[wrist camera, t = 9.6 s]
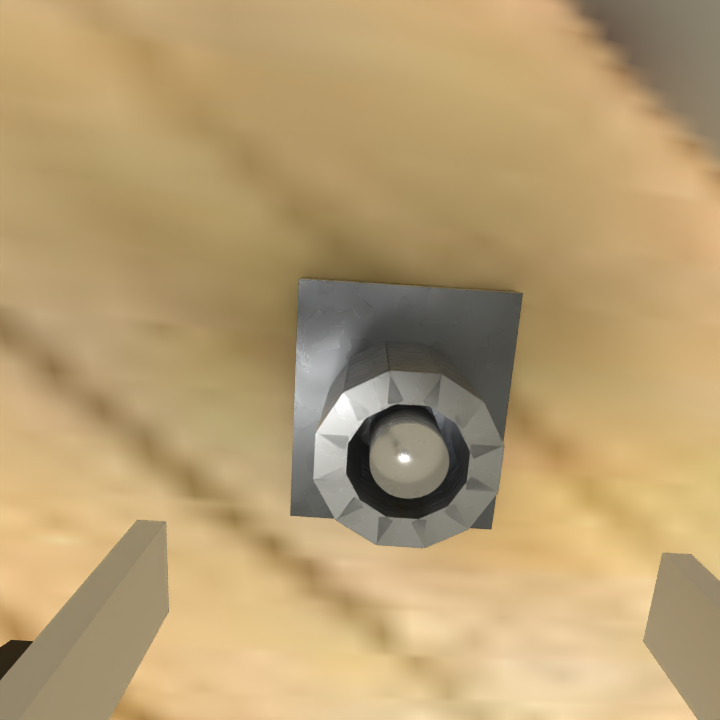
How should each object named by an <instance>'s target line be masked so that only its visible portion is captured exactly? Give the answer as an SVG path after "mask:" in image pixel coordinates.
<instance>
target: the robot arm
mask: <svg viewBox="0 0 720 720" xmlns="http://www.w3.org/2000/svg"><path fill="white" fill-rule="evenodd" d="M168 612H169V597H168V565H167V533H166V522H164V521H148V520H137V521H136V522H135V523H134V524H133V525H132V527H131V528H130V529H129V530H128V531H127V532H126V534H125V535H124V536H123V537H122V538H121V540H120V541H119V542H118V543H117V544H116V545H115V547H114V548H113V549H112V550H111V551H110V552H109V554H108V555H107V556H106V557H105V558H104V559H103V561H102V562H101V563H100V564H99V565H98V566H97V568H96V569H95V570H94V571H93V572H92V573H91V575H90V576H89V577H88V578H87V579H86V581H85V582H84V583H83V584H82V585H81V586H80V588H79V589H78V590H77V591H76V592H75V593H74V595H73V596H72V597H71V598H70V599H69V600H68V602H67V603H66V604H65V605H64V606H63V607H62V609H61V610H60V611H59V612H58V613H57V614H56V616H55V617H54V618H53V619H52V620H51V622H50V623H49V624H48V625H47V626H46V627H45V629H44V630H43V631H42V632H41V633H40V634H39V636H38V637H37V638H36V639H35V640H34V641H20V640H10V641H9V642H7V643H6V644H5V645H3V646H2V647H0V720H109V719H110V717H111V716H112V714H113V712H114V710H115V708H116V707H117V705H118V703H119V701H120V699H121V697H122V696H123V694H124V692H125V690H126V688H127V687H128V685H129V683H130V681H131V679H132V677H133V676H134V674H135V672H136V670H137V668H138V667H139V665H140V663H141V661H142V659H143V658H144V656H145V654H146V652H147V650H148V648H149V647H150V645H151V643H152V641H153V639H154V638H155V636H156V634H157V632H158V630H159V628H160V627H161V625H162V623H163V621H164V619H165V618H166V616H167V614H168ZM643 642H644V643H645V645H646V646H647V648H648V649H649V650H650V652H651V653H652V655H653V656H654V658H655V659H656V661H657V662H658V663H659V665H660V666H661V668H662V669H663V671H664V672H665V673H666V675H667V676H668V678H669V679H670V681H671V682H672V683H673V685H674V686H675V688H676V689H677V691H678V692H679V693H680V695H681V696H682V698H683V699H684V701H685V702H686V704H687V705H688V706H689V708H690V709H691V711H692V712H693V714H694V715H695V716H696V718H697V719H698V720H720V581H719V580H718V579H717V578H716V577H715V576H714V575H713V574H712V573H711V572H710V571H708V570H707V569H706V568H705V567H704V566H703V565H702V564H701V563H700V562H699V561H698V560H697V559H696V558H695V557H694V556H693V555H692V554H676V553H662V557H661V562H660V566H659V571H658V575H657V580H656V584H655V589H654V594H653V598H652V603H651V607H650V612H649V617H648V621H647V626H646V630H645V635H644V640H643Z"/></svg>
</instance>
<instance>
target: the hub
mask: <svg viewBox="0 0 720 720" xmlns="http://www.w3.org/2000/svg"><path fill="white" fill-rule="evenodd" d="M395 404H406V405H420V406H430V407H432V408H433V409H435V410H436V411H438V412H439V413H441V414H442V415H444V416H445V417H444V426H443V428H442V429H441V430H440V432H441V435H442V437H443V440H444V443H445V445H446V448H447V451H448V455H449V467H448V472H447V474H446V477H445V479H444V480H443V482H442V483H441V484H440V485H439V486H438V487H437V488H436V489H435V490H434V491H432V492H431V493H429V494H427V495H425V496H422V497H418V498H412V499H406V498H399V497H396V496H393V495H391V494H389V493H387V492H386V491H384V490H383V489H382V488H381V487H380V486H379V485H378V484H377V483H376V481H375V480H374V478H373V476H372V474H371V470H370V445H369V444H368V443H366V442H364V441H363V439H362V438H361V436H360V434H359V432H358V429H359V427H360V426H361V424H362V423H363V421H364V420H365V419H366V418H367V417H369V416H371V415H373V414H375V413H377V412H380V411H382V410H384V409H386V408H388V407H390V406H393V405H395ZM503 452H504V444H503V442H502V440H501V438H500V435H499V433H498V431H497V429H496V427H495V425H494V422H493V420H492V418H491V416H490V414H489V412H488V410H487V407H486V405H485V403H484V402H483V400H482V399H481V398H480V396H479V395H478V393H477V392H476V391H475V389H474V388H473V387H472V385H471V384H470V383H469V381H468V380H467V379H466V377H465V376H464V375H463V373H462V372H461V371H460V369H459V368H458V367H457V365H456V364H455V363H453V362H452V361H450V360H449V359H447V358H446V357H444V356H443V355H441V354H440V353H438V352H437V351H435V350H434V349H432V348H431V347H429V346H428V345H426V344H425V343H413V342H398V341H386V342H385V341H383V342H381V343H379V344H377V345H375V346H373V347H371V348H369V349H367V350H365V351H363V352H361V353H358V354H356V355H354V356H352V357H351V358H350V359H349V360H348V362H347V363H346V365H345V366H344V367H343V369H342V370H341V372H340V373H339V375H338V376H337V378H336V379H335V381H334V382H333V384H332V385H331V387H330V388H329V391H328V395H327V398H326V401H325V404H324V407H323V411H322V414H321V417H320V420H319V424H318V427H317V430H316V433H315V453H314V475H313V479H314V482H315V484H316V486H317V487H318V489H319V491H320V493H321V495H322V496H323V498H324V500H325V502H326V504H327V505H328V507H329V509H330V511H331V513H332V514H333V516H334V518H335V520H336V521H338V522H339V523H341V524H343V525H344V526H346V527H348V528H349V529H351V530H352V531H354V532H356V533H357V534H359V535H361V536H362V537H364V538H365V539H367V540H369V541H370V542H372V543H374V544H375V545H376V544H377V545H384V546H398V547H412V548H426V547H428V546H431V545H433V544H436V543H438V542H440V541H443V540H445V539H447V538H450V537H452V536H454V535H457V534H459V533H462V532H464V531H466V530H468V529H469V528H470V527H471V526H472V525H473V523H474V522H475V521H476V520H477V518H478V517H479V516H480V515H481V513H482V512H483V511H484V510H485V508H486V507H487V506H488V505H489V503H490V502H491V501H492V500H493V498H494V497H495V496H496V495H497V493H498V490H499V482H500V475H501V467H502V460H503Z"/></svg>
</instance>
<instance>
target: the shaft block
mask: <svg viewBox="0 0 720 720" xmlns="http://www.w3.org/2000/svg"><path fill="white" fill-rule="evenodd" d="M522 295H523V293H520V292H516V291H505V290H489V289H474V288H458V287H443V286H427V285H412V284H397V283H381V282H366V281H350V280H335V279H319V278H304V277H302V278H300V279H299V288H298V316H297V344H296V372H295V400H294V428H293V456H292V484H291V512H290V516H304V517H318V518H333V519H335V518H334V516H333V514H332V513H331V511H330V509H329V507H328V505H327V504H326V502H325V500H324V498H323V496H322V495H321V493H320V491H319V489H318V487H317V486H316V484H315V482H314V479H313V475H314V453H315V433H316V430H317V427H318V424H319V420H320V417H321V414H322V411H323V407H324V404H325V401H326V398H327V395H328V391H329V388H330V387H331V385H332V384H333V382H334V381H335V379H336V378H337V376H338V375H339V373H340V372H341V370H342V369H343V367H344V366H345V365H346V363H347V362H348V360H349V359H350V358H351V357H352V356H354V355H356V354H358V353H361V352H363V351H365V350H367V349H369V348H371V347H373V346H375V345H377V344H379V343H381V342H383V341H385V342H386V341H398V342H413V343H425V344H426V345H428V346H429V347H431V348H432V349H434V350H435V351H437V352H438V353H440V354H441V355H443V356H444V357H446V358H447V359H449V360H450V361H452V362H453V363H455V364H456V365H457V367H458V368H459V369H460V371H461V372H462V373H463V375H464V376H465V377H466V379H467V380H468V381H469V383H470V384H471V385H472V387H473V388H474V389H475V391H476V392H477V393H478V395H479V396H480V398H481V399H482V400H483V402H484V403H485V405H486V407H487V410H488V412H489V414H490V416H491V418H492V420H493V422H494V425H495V427H496V429H497V431H498V433H499V435H500V438H501V440H502V442H503V438H504V431H505V423H506V416H507V408H508V401H509V393H510V386H511V378H512V371H513V363H514V355H515V348H516V340H517V333H518V325H519V318H520V310H521V303H522ZM444 417H445V416H444V415H442V414H441V413H439V412H438V411H436V410H435V409H433V408H432V407H430V406H420V405H406V404H395V405H393V406H390V407H388V408H386V409H384V410H382V411H380V412H377V413H375V414H373V415H371V416H369V417H367V418H366V419H365V420H364V421H363V423H362V424H361V426H360V427H359V429H358V432H359V434H360V436H361V438H362V439H363V441H364V442H366V443H368V444H369V445H370V470H371V474H372V476H373V478H374V480H375V481H376V483H377V484H378V485H379V486H380V487H381V488H382V489H383V490H384V491H386V492H387V493H389V494H391V495H393V496H396V497H399V498H406V499H412V498H418V497H422V496H425V495H427V494H429V493H431V492H432V491H434V490H435V489H436V488H437V487H438V486H439V485H440V484H441V483H442V482H443V480H444V479H445V477H446V474H447V472H448V467H449V455H448V451H447V448H446V445H445V443H444V440H443V437H442V435H441V432H440V430H441V429H442V428H443V426H444ZM495 498H496V496H495V497H494V498H493V500H492V501H491V502H490V503H489V505H488V506H487V507H486V508H485V510H484V511H483V512H482V513H481V515H480V516H479V517H478V518H477V520H476V521H475V522H474V523H473V525H472V526H471V527H470V528H477V529H491V528H492V521H493V513H494V506H495Z"/></svg>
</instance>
